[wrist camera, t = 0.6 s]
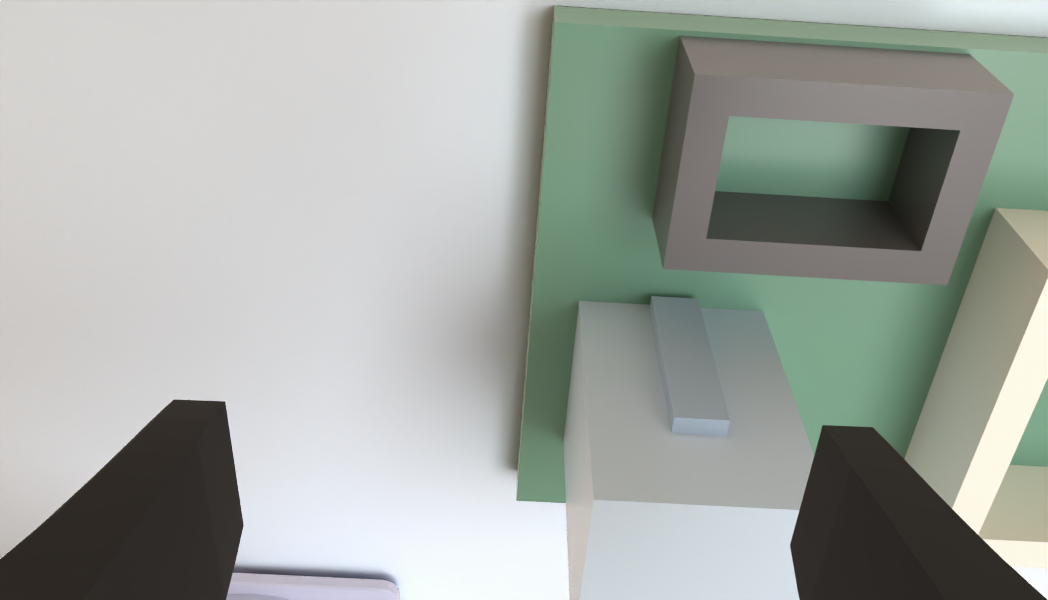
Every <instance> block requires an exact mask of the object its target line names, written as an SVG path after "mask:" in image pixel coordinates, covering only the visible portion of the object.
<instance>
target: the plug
mask: <svg viewBox="0 0 1048 600" xmlns="http://www.w3.org/2000/svg"><path fill="white" fill-rule="evenodd" d="M563 442H564V467H565V492H566V517H567V542H568V567H569V592H570V600H799V594H798V589H797V584H796V578H795V572H794V566H793V560H792V554H791V549H790V543H791V539H792V536H793V532H794V528H795V525H796V521H797V517H798V514H799V510H800V506H801V503H802V499H803V495H804V492H805V488H806V484H807V481H808V477H809V473H810V470H811V466H812V462H813V459H814V453H813V450H812V448H811V445H810V442H809V439H808V436H807V433H806V431H805V428H804V425H803V422H802V419H801V417H800V414H799V411H798V408H797V405H796V402H795V400H794V397H793V394H792V391H791V388H790V386H789V383H788V380H787V377H786V374H785V371H784V369H783V366H782V363H781V360H780V357H779V355H778V352H777V349H776V346H775V343H774V340H773V338H772V335H771V332H770V329H769V326H768V324H767V321H766V318H765V315H764V312H763V311H753V310H735V309H717V308H700V304H699V300H698V299H695V298H677V297H660V296H651V302H650V305H646V304H628V303H611V302H593V301H579V306H578V315H577V324H576V333H575V342H574V351H573V360H572V369H571V378H570V387H569V396H568V405H567V414H566V423H565V432H564V441H563Z"/></svg>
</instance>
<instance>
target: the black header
mask: <svg viewBox="0 0 1048 600" xmlns="http://www.w3.org/2000/svg"><path fill="white" fill-rule="evenodd" d="M1013 97H1014V93H1013V92H1011V91H1010V90H1009V89H1008V88H1007V87H1006V86H1005V85H1004V84H1003V83H1001V82H1000V81H999V80H998V79H997V78H996V77H995V76H994V75H993V74H991V73H990V72H989V71H988V70H987V69H986V68H985V67H984V66H983V65H981V64H980V63H979V62H978V61H977V60H976V59H975V58H974V57H973V56H972V55H970V54H960V53H945V52H929V51H914V50H898V49H882V48H867V47H851V46H836V45H820V44H804V43H789V42H773V41H758V40H742V39H726V38H711V37H695V36H680V37H679V43H678V50H677V57H676V63H675V70H674V76H673V83H672V90H671V96H670V103H669V110H668V116H667V123H666V129H665V136H664V143H663V149H662V156H661V163H660V169H659V176H658V182H657V189H656V196H655V202H654V209H653V215H652V220H653V225H654V230H655V234H656V239H657V244H658V248H659V253H660V258H661V262H662V267H663V269H670V270H687V271H705V272H722V273H740V274H757V275H775V276H792V277H809V278H827V279H844V280H862V281H879V282H897V283H914V284H932V285H948V282H949V279H950V276H951V273H952V271H953V268H954V265H955V262H956V259H957V256H958V253H959V251H960V248H961V245H962V242H963V239H964V236H965V234H966V231H967V228H968V225H969V222H970V219H971V216H972V214H973V211H974V208H975V205H976V202H977V199H978V196H979V194H980V191H981V188H982V185H983V182H984V179H985V176H986V174H987V171H988V168H989V165H990V162H991V159H992V157H993V154H994V151H995V148H996V145H997V142H998V139H999V137H1000V134H1001V131H1002V128H1003V125H1004V122H1005V119H1006V117H1007V114H1008V111H1009V108H1010V105H1011V102H1012V99H1013ZM729 116H736V117H752V118H769V119H785V120H801V121H817V122H833V123H849V124H866V125H882V126H898V127H910V130H909V133H908V137H907V140H906V143H905V147H904V150H903V153H902V157H901V160H900V164H899V167H898V170H897V174H896V177H895V181H894V184H893V187H892V191H891V194H890V197H889V201H874V200H857V199H841V198H824V197H807V196H790V195H774V194H757V193H740V192H723V191H715V189H716V184H717V178H718V173H719V168H720V162H721V157H722V152H723V146H724V141H725V136H726V130H727V125H728V120H729Z"/></svg>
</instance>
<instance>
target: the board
mask: <svg viewBox="0 0 1048 600" xmlns="http://www.w3.org/2000/svg"><path fill="white" fill-rule="evenodd" d="M680 36H695V37H711V38H726V39H742V40H758V41H773V42H789V43H804V44H820V45H836V46H851V47H867V48H882V49H898V50H914V51H929V52H945V53H960V54H970V55H972V56H973V57H974V58H975V59H976V60H977V61H978V62H979V63H980V64H981V65H983V66H984V67H985V68H986V69H987V70H988V71H989V72H990V73H991V74H993V75H994V76H995V77H996V78H997V79H998V80H999V81H1000V82H1001V83H1003V84H1004V85H1005V86H1006V87H1007V88H1008V89H1009V90H1010V91H1011V92H1013V93H1014V97H1013V99H1012V102H1011V105H1010V108H1009V111H1008V114H1007V117H1006V119H1005V122H1004V125H1003V128H1002V131H1001V134H1000V137H999V139H998V142H997V145H996V148H995V151H994V154H993V157H992V159H991V162H990V165H989V168H988V171H987V174H986V176H985V179H984V182H983V185H982V188H981V191H980V194H979V196H978V199H977V202H976V205H975V208H974V211H973V214H972V216H971V219H970V222H969V225H968V228H967V231H966V234H965V236H964V239H963V242H962V245H961V248H960V251H959V253H958V256H957V259H956V262H955V265H954V268H953V271H952V273H951V276H950V279H949V282H948V285H932V284H914V283H897V282H879V281H862V280H844V279H827V278H809V277H792V276H775V275H757V274H740V273H722V272H705V271H687V270H670V269H663V267H662V262H661V258H660V253H659V248H658V244H657V239H656V234H655V230H654V225H653V220H652V215H653V209H654V202H655V196H656V189H657V182H658V176H659V169H660V163H661V156H662V149H663V143H664V136H665V129H666V123H667V116H668V110H669V103H670V96H671V90H672V83H673V76H674V70H675V63H676V57H677V50H678V43H679V37H680ZM909 130H910V127H898V126H882V125H866V124H849V123H833V122H817V121H801V120H785V119H769V118H752V117H736V116H729V120H728V125H727V130H726V136H725V141H724V146H723V152H722V157H721V162H720V168H719V173H718V178H717V184H716V189H715V191H723V192H740V193H757V194H774V195H790V196H807V197H824V198H841V199H857V200H874V201H889V197H890V194H891V191H892V187H893V184H894V181H895V177H896V174H897V170H898V167H899V164H900V160H901V157H902V153H903V150H904V147H905V143H906V140H907V137H908V133H909ZM995 208H1008V209H1025V210H1042V211H1048V38H1042V37H1027V36H1012V35H996V34H981V33H965V32H950V31H934V30H919V29H903V28H888V27H872V26H857V25H842V24H826V23H811V22H795V21H780V20H764V19H749V18H733V17H718V16H703V15H687V14H672V13H656V12H641V11H625V10H610V9H594V8H579V7H564V6H554V12H553V24H552V37H551V50H550V62H549V75H548V88H547V100H546V113H545V126H544V138H543V151H542V163H541V176H540V189H539V201H538V214H537V227H536V239H535V252H534V265H533V277H532V290H531V303H530V315H529V328H528V340H527V353H526V366H525V378H524V391H523V404H522V416H521V429H520V442H519V454H518V467H517V501H536V502H556V503H566V492H565V467H564V442H563V441H564V432H565V423H566V414H567V405H568V396H569V387H570V378H571V369H572V360H573V351H574V342H575V333H576V324H577V315H578V306H579V301H593V302H611V303H628V304H646V305H650V302H651V296H660V297H677V298H695V299H698V300H699V304H700V308H717V309H735V310H753V311H763V312H764V315H765V318H766V321H767V324H768V326H769V329H770V332H771V335H772V338H773V340H774V343H775V346H776V349H777V352H778V355H779V357H780V360H781V363H782V366H783V369H784V371H785V374H786V377H787V380H788V383H789V386H790V388H791V391H792V394H793V397H794V400H795V402H796V405H797V408H798V411H799V414H800V417H801V419H802V422H803V425H804V428H805V431H806V433H807V436H808V439H809V442H810V445H811V448H812V450H813V453H814V455H815V451H816V448H817V444H818V440H819V437H820V433H821V429H822V426H823V425H832V426H858V427H873V428H874V429H875V430H876V431H877V432H878V433H879V434H880V435H881V436H882V437H883V438H884V439H885V440H886V441H887V442H888V443H889V444H890V445H891V446H892V447H893V448H894V449H895V450H896V451H897V452H898V453H899V454H900V455H901V456H902V457H903V458H905V456H906V453H907V450H908V447H909V445H910V442H911V439H912V436H913V434H914V431H915V428H916V425H917V423H918V420H919V417H920V414H921V412H922V409H923V406H924V403H925V401H926V398H927V395H928V392H929V390H930V387H931V384H932V381H933V379H934V376H935V373H936V370H937V368H938V365H939V362H940V359H941V357H942V354H943V351H944V348H945V346H946V343H947V340H948V337H949V335H950V332H951V329H952V326H953V324H954V321H955V318H956V315H957V313H958V310H959V307H960V304H961V302H962V299H963V296H964V293H965V291H966V288H967V285H968V282H969V280H970V277H971V274H972V271H973V269H974V266H975V263H976V261H977V258H978V255H979V252H980V250H981V247H982V244H983V241H984V239H985V236H986V233H987V230H988V228H989V225H990V222H991V219H992V217H993V214H994V211H995ZM1009 465H1023V466H1042V467H1048V378H1047V381H1046V383H1045V385H1044V388H1043V390H1042V392H1041V394H1040V397H1039V399H1038V401H1037V403H1036V406H1035V408H1034V410H1033V412H1032V415H1031V417H1030V419H1029V421H1028V424H1027V426H1026V428H1025V430H1024V433H1023V435H1022V437H1021V439H1020V442H1019V444H1018V446H1017V448H1016V451H1015V453H1014V455H1013V457H1012V460H1011V462H1010V464H1009Z"/></svg>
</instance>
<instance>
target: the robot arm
mask: <svg viewBox="0 0 1048 600" xmlns="http://www.w3.org/2000/svg"><path fill="white" fill-rule="evenodd" d="M242 529H243V519H242V513H241V506H240V499H239V492H238V486H237V479H236V472H235V465H234V459H233V452H232V445H231V438H230V432H229V425H228V418H227V411H226V405H225V402H221V401H195V400H173V401H172V402H171V403H170V404H169V405H167V406H166V407H165V408H164V409H163V410H162V411H161V412H160V413H159V414H158V415H157V416H156V417H155V418H153V419H152V420H151V421H150V422H149V423H148V424H147V425H146V426H145V427H144V428H143V429H142V430H141V431H140V432H139V433H138V434H137V435H136V436H135V437H134V438H133V439H132V440H131V441H130V442H129V443H128V444H127V445H126V446H125V447H124V448H123V449H122V450H121V451H120V452H119V453H118V454H116V455H115V456H114V457H113V458H112V459H111V460H110V461H109V462H108V463H107V464H106V465H105V466H104V467H103V468H102V469H101V470H100V471H99V472H98V473H97V474H96V475H95V476H94V477H93V478H91V479H90V480H89V481H88V482H87V483H86V484H85V485H84V486H83V487H82V488H81V489H80V490H78V491H77V492H76V493H75V494H74V495H73V496H72V497H71V498H70V499H69V500H68V501H67V502H65V503H64V504H63V505H62V506H61V507H60V508H59V509H58V510H57V511H56V512H55V513H54V514H52V515H51V516H50V517H49V518H48V519H47V520H46V521H45V522H44V523H43V524H41V525H40V526H39V527H38V528H37V529H36V530H35V531H33V532H32V533H31V534H30V535H29V536H28V537H26V538H25V539H24V540H23V541H22V542H20V543H19V544H18V545H17V546H16V547H14V548H13V549H12V550H11V551H10V552H9V553H7V554H6V555H5V556H4V557H3V558H1V559H0V600H400V591H399V588H398V587H397V586H396V585H395V584H394V583H391V582H389V581H386V580H377V579H356V578H335V577H314V576H293V575H273V574H252V573H233V570H234V565H235V561H236V556H237V552H238V547H239V543H240V538H241V534H242ZM790 549H791V554H792V560H793V566H794V572H795V578H796V584H797V589H798V594H799V600H1047V599H1046V598H1045V597H1044V596H1042V595H1041V594H1040V593H1039V592H1038V591H1037V590H1036V589H1035V588H1033V587H1032V586H1031V585H1030V584H1029V583H1028V582H1027V581H1026V580H1025V579H1024V578H1023V577H1022V576H1020V575H1019V574H1018V573H1017V572H1016V571H1015V570H1014V569H1013V568H1012V567H1011V566H1010V565H1009V564H1008V563H1007V562H1005V561H1004V560H1003V559H1002V558H1001V557H1000V556H999V555H998V554H997V553H996V552H995V551H994V550H993V549H992V548H991V547H990V546H989V545H988V544H987V543H986V542H985V541H984V540H983V539H982V538H981V537H980V536H979V535H978V534H977V533H976V532H975V531H974V530H973V529H972V528H971V527H970V526H969V525H968V524H967V523H966V522H965V521H964V520H963V519H962V518H961V517H960V516H959V515H958V514H957V513H956V512H955V511H954V510H953V509H952V508H951V507H950V506H949V505H948V504H947V503H946V502H945V501H944V500H943V499H942V498H941V497H940V496H939V495H938V494H937V493H936V492H935V491H934V490H933V489H932V488H931V487H930V485H929V484H928V483H927V482H926V481H925V480H924V479H923V478H922V477H921V476H920V475H919V474H918V473H917V472H916V471H915V470H914V469H913V468H912V467H911V466H910V465H909V464H908V463H907V462H906V460H905V459H904V458H903V457H902V456H901V455H900V454H899V453H898V452H897V451H896V450H895V449H894V448H893V447H892V446H891V445H890V444H889V443H888V442H887V441H886V440H885V439H884V438H883V437H882V436H881V435H880V434H879V433H878V432H877V431H876V430H875V429H874V428H873V427H858V426H832V425H823V426H822V429H821V433H820V437H819V440H818V444H817V448H816V451H815V455H814V459H813V462H812V466H811V470H810V473H809V477H808V481H807V484H806V488H805V492H804V495H803V499H802V503H801V506H800V510H799V514H798V517H797V521H796V525H795V528H794V532H793V536H792V539H791V543H790Z"/></svg>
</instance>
